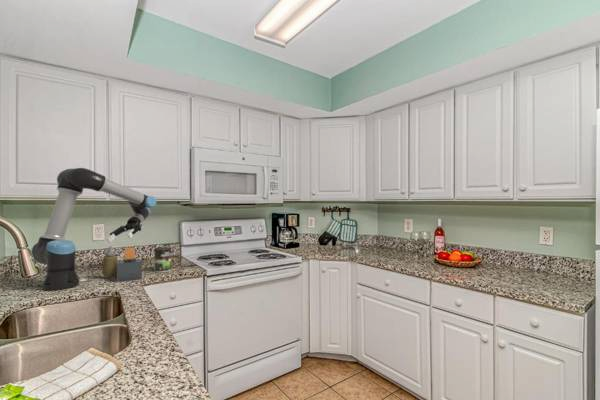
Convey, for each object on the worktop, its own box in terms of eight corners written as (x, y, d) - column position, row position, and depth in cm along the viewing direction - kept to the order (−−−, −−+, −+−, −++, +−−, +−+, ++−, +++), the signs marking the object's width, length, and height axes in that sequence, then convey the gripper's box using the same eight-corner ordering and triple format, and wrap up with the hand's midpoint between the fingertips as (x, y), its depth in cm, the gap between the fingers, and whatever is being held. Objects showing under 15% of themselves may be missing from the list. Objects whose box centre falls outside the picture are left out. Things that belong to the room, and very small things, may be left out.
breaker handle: (123, 261, 171) (123, 248, 171) (124, 259, 174) (123, 248, 174) (135, 259, 173) (135, 248, 173) (135, 258, 177) (135, 247, 177)
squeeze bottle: (114, 279, 172) (114, 247, 172) (99, 279, 170) (99, 247, 170) (120, 275, 180) (120, 245, 180) (106, 276, 178) (105, 245, 178)
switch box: (117, 281, 165) (117, 263, 165) (118, 278, 172) (117, 260, 172) (141, 279, 171) (141, 261, 171) (141, 276, 178) (141, 258, 178)
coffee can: (174, 270, 193) (174, 248, 193) (159, 273, 185) (159, 250, 185) (166, 268, 199) (166, 246, 199) (150, 271, 191) (150, 248, 191)
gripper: (155, 222, 203) (140, 239, 184) (121, 229, 205) (103, 248, 186) (150, 212, 199) (134, 229, 180) (115, 220, 202) (96, 238, 183)
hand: (118, 238), depth 183 cm, fingers open, 13 cm apart
